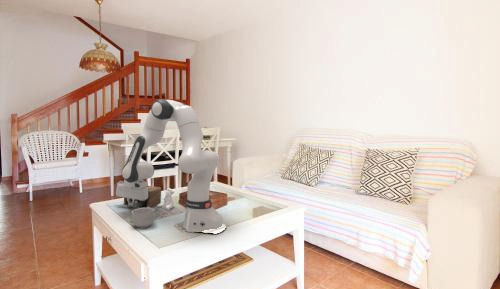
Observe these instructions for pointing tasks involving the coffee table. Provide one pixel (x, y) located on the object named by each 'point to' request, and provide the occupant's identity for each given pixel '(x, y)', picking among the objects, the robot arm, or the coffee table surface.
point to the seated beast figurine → (167, 200)
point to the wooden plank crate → (151, 196)
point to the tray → (138, 204)
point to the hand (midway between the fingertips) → (131, 205)
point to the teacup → (143, 217)
